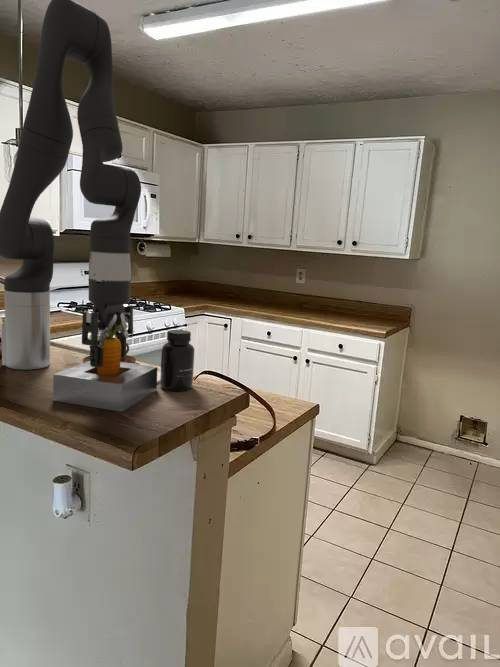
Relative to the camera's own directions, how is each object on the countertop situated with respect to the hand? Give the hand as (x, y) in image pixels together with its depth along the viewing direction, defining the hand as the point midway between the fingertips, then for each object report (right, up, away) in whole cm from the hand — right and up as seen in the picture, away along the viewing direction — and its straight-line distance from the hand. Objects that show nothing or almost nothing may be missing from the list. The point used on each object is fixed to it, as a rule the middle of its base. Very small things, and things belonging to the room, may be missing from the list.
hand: (108, 361), depth 93 cm
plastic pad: (+4, -4, +15) cm, 16 cm away
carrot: (-1, -7, +1) cm, 7 cm away
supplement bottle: (+12, -6, +10) cm, 16 cm away
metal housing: (-1, -7, +1) cm, 7 cm away
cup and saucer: (-6, -3, +22) cm, 23 cm away
